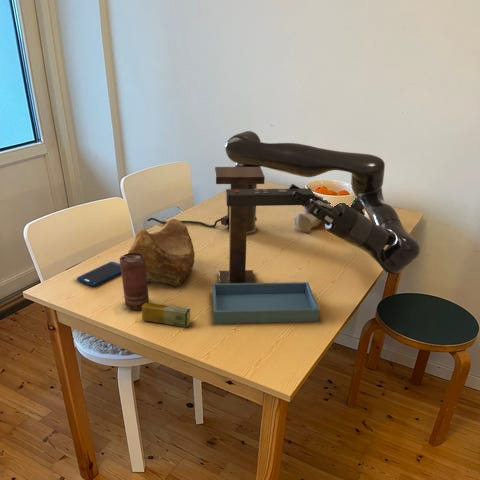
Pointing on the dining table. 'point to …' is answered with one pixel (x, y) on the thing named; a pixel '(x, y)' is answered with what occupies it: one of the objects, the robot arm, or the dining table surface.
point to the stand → (238, 222)
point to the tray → (263, 303)
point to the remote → (264, 196)
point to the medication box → (166, 314)
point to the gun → (357, 206)
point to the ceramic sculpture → (307, 221)
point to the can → (134, 280)
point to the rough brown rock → (166, 252)
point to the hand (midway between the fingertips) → (291, 191)
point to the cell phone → (100, 274)
